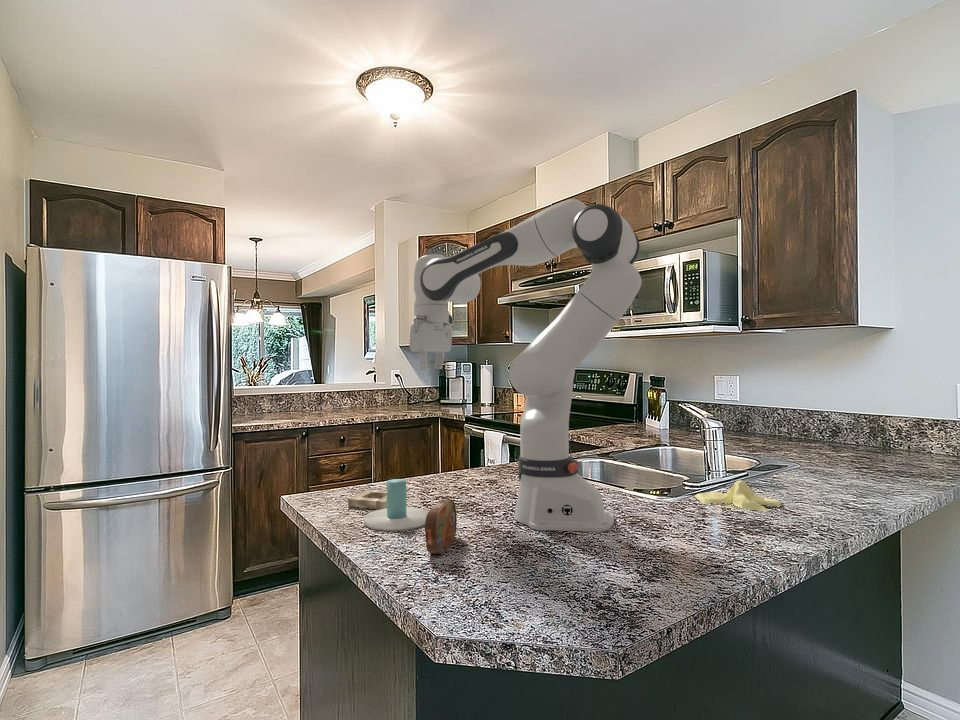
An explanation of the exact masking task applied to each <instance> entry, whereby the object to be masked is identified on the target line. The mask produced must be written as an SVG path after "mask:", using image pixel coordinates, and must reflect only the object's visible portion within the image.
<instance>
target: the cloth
mask: <svg viewBox="0 0 960 720" xmlns="http://www.w3.org/2000/svg"><path fill="white" fill-rule="evenodd" d="M726 493H727V494H724V493H723V492H722V493H721V492H713V491H712V492H701V493H697V494H695V495H694V496H695V497H694V498H696V499H697V501H699V502H700V504H702V503H703V504H702V505H704V504H711V503H733V504H734V505H736V506H738V507H740V508H744V509H750V510H759V511H770V510H769V509H768V508H767V507H766V506H762V505H770V506H781V507H782V505H781V503H782V502H781V500H779V499H775V498H771V497H770V498H769V497H763V496H759V495H756V494H755V491H754V490H753V489H752V488H751V486H749V485H748V483H746V481H745V480H737V481H735V482H734V484H733V485H732V487H730V488H729V490H728V491H727V492H726ZM723 507H727V508H731V509H737V508H736V507H734V506H732V505H728V504H725V505H724V506H723ZM727 508H726V509H727Z"/></svg>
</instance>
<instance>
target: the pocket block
mask: <svg viewBox="0 0 960 720" xmlns="http://www.w3.org/2000/svg"><path fill="white" fill-rule="evenodd" d="M347 506H348V507H347V508H356V507H359V508H360V509H367V508H369V510H379V509H385V508H387V490H378V489H366V490H364V491H362V492H360V493H358V494H355V495H353V496H351V497H349V498H347ZM359 508H358V509H359Z"/></svg>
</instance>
